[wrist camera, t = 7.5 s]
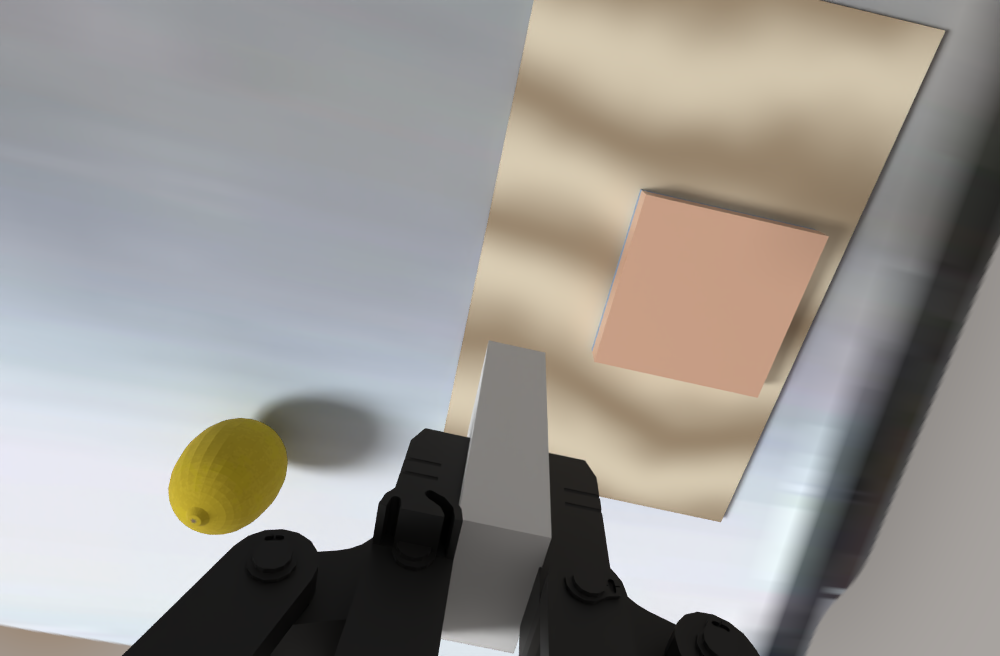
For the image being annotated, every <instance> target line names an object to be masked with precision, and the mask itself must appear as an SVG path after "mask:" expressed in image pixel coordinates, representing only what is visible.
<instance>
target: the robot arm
mask: <svg viewBox="0 0 1000 656" xmlns="http://www.w3.org/2000/svg"><path fill="white" fill-rule="evenodd" d="M519 636H520V637H519ZM441 639H443V640H448V641H453V642H458V643H463V644H468V645H473V646H479V647H484V648H489V649H494V650H499V651H504V652H509V653H514V651H515V648H516V645H517V642H518V639H519V656H760V655H759V654H758V652H757V651H756V649H755V648H754V646H753V645H752V644H751V643H750V641H749V640H748V639H747V637H746V636H745V635H744V634H743V633H742V632H741V631H739V630H738V629H737V628H736V627H734V626H733V625H732V624H731V623H729V622H728V621H725V620H723V619H721V618H719V617H717V616H715V615H713V614H707V613H701V612H695V613H690V614H686V615H684V616H683V617H682V618H681V619H680V620H679V621H678V622H677V624H676V625H675V624H673V623H671V622H669V621H667V620H665V619H663V618H661V617H659V616H657V615H655V614H653V613H651V612H649V611H647V610H645V609H644V608H642V607H640V606H639V605H637V604H636V603H635V602H633V601H632V600H631V599H630V598H629V597H627V593H626V591H625V588H624V586H623V583H622V581H621V580H620V579H619V578H618V576H617V575H616V574H615V573H614V572H613V570H612V569H610V564H609V557H608V550H607V544H606V537H605V530H604V523H603V517H602V513H601V503H600V498H599V490H598V483H597V477H596V476H595V474H594V473H593V471H592V470H591V468H590V467H589V465H588V464H587V462H586V461H585V460H581V459H576V458H572V457H567V456H562V455H557V454H553V453H549V448H548V418H547V388H546V359H545V352H540V351H535V350H531V349H526V348H522V347H517V346H512V345H508V344H503V343H498V342H494V341H488V346H487V350H486V354H485V359H484V363H483V368H482V372H481V376H480V381H479V385H478V390H477V394H476V398H475V403H474V407H473V411H472V416H471V420H470V425H469V429H468V435H467V437H464V436H460V435H455V434H450V433H445V432H441V431H436V430H431V429H426V428H425V429H424V430H422V431H421V432H420V433H419V434H418V435H417V436H415V437H414V438H413V439H412V440H411V442H410V445H409V448H408V451H407V454H406V457H405V460H404V463H403V466H402V469H401V473H400V475H399V478H398V481H397V484H396V487H395V488H394V489H392V490H391V491H389V492H387V493H386V494H385V495H384V497H383V498H382V500H381V501H380V502H379V505H378V511H377V517H376V523H375V529H374V536H373V538H372V539H370V540H368V541H367V542H365V543H364V544H362V545H359V546H356V547H353V548H350V549H344V550H338V551H323V552H317V550H316V549H315V547H314V545H313V544H312V542H311V541H310V540H309V539H307V538H305V537H304V536H302V535H301V534H299V533H296V532H292V531H288V530H284V529H279V530H264V531H261V532H258V533H255V534H252V535H249V536H247V537H246V538H244V539H243V540H242V541H240V542H239V543H237V544H236V545H234V546H233V547H232V548H231V549H230V550H229V551H228V552H227V553H226V554H225V555H224V556H223V557H222V558H221V559H220V560H219V561H218V562H217V563H216V564H215V565H214V566H213V567H212V568H211V569H210V570H209V571H208V572H207V573H206V574H205V575H204V576H203V577H202V578H201V579H200V580H199V581H198V582H197V583H196V584H195V585H194V586H193V587H192V588H191V589H189V590H188V591H187V592H186V593H185V594H184V595H183V596H182V597H181V598H180V599H179V600H178V601H177V602H176V603H175V604H174V605H173V606H172V607H171V608H170V609H169V610H168V611H167V612H166V613H165V614H164V615H163V616H162V617H161V618H160V619H159V620H158V621H157V622H156V623H155V624H154V625H153V626H152V627H151V628H150V629H149V630H148V631H147V632H146V633H145V634H144V635H143V636H142V637H141V638H140V639H139V640H138V641H137V642H136V643H134V644H133V645H132V646H131V648H129V649H128V651H126V652H125V653H124V654H123V655H122V656H438V653H439V646H440V640H441Z"/></svg>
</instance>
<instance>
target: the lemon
mask: <svg viewBox="0 0 1000 656" xmlns="http://www.w3.org/2000/svg"><path fill="white" fill-rule="evenodd" d="M287 464H288V460H287V454H286V449H285V446H284V444H283V442H282V440H281V438H280V437H279V436H278V434H277V433H276V432H275V431H274V430H273V429H271V428H270V427H269V426H267V425H266V424H264V423H262V422H259V421H256V420H253V419H245V418H237V419H229V420H225V421H222V422H220V423H217V424H215V425H213V426H211V427H209V428H207V429H206V430H204V431H203V432H202V433H201V434H199V435H198V436H197V437H196V438H195V439H194V440H192V441H191V442H190V443H189V445H188V446H187V447H186V448H185V450H184V451H183V453H182V455H181V456H180V458H179V459H178V461H177V463H176V465H175V467H174V469H173V471H172V474H171V478H170V483H169V488H168V490H169V501H170V504H171V506H172V509H173V511H174V513H175V514H176V516H177V517H178V519H179V520H180V521H181V522H182V523H183V524H185V525H186V526H187V527H189V528H191V529H192V530H195V531H197V532H200V533H204V534H210V535H220V534H227V533H231V532H234V531H237V530H239V529H241V528H243V527H245V526H247V525H248V524H250V523H251V522H253V521H254V520H255V519H257V518H258V517H259V516H260V515H261V514H262V513H263V512H264V511H265V510H266V509H267V508H268V507H269V506H270V505H271V504H272V502H273V501H274V500H275V498H276V496H277V495H278V493H279V491H280V489H281V487H282V485H283V483H284V480H285V477H286V471H287Z"/></svg>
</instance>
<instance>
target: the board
mask: <svg viewBox="0 0 1000 656" xmlns="http://www.w3.org/2000/svg"><path fill="white" fill-rule="evenodd" d="M944 33H945V30H941V29H936V28H932V27H928V26H924V25H920V24H916V23H912V22H907V21H903V20H899V19H895V18H891V17H887V16H883V15H878V14H874V13H870V12H866V11H862V10H858V9H854V8H849V7H845V6H841V5H837V4H833V3H829V2H825V1H820V0H534V2H533V7H532V12H531V17H530V22H529V26H528V31H527V36H526V41H525V46H524V50H523V55H522V60H521V65H520V70H519V74H518V79H517V84H516V89H515V93H514V98H513V103H512V108H511V113H510V117H509V122H508V127H507V132H506V137H505V141H504V146H503V151H502V156H501V161H500V165H499V170H498V175H497V180H496V184H495V189H494V194H493V199H492V204H491V208H490V213H489V218H488V223H487V228H486V232H485V237H484V242H483V247H482V252H481V256H480V261H479V266H478V271H477V275H476V280H475V285H474V290H473V295H472V299H471V304H470V309H469V314H468V319H467V323H466V328H465V333H464V338H463V343H462V347H461V352H460V357H459V362H458V366H457V371H456V376H455V381H454V386H453V390H452V395H451V400H450V405H449V410H448V414H447V419H446V424H445V429H444V432H445V433H450V434H455V435H460V436H464V437H467V435H468V429H469V425H470V420H471V416H472V411H473V407H474V403H475V398H476V394H477V390H478V385H479V381H480V376H481V372H482V368H483V363H484V359H485V354H486V350H487V346H488V341H494V342H498V343H503V344H508V345H512V346H517V347H522V348H526V349H531V350H535V351H540V352H545V359H546V388H547V418H548V448H549V453H553V454H557V455H562V456H567V457H572V458H576V459H581V460H585V461H586V462H587V464H588V465H589V467H590V468H591V470H592V471H593V473H594V474H595V476H596V477H597V483H598V490H599V496H600V497H605V498H610V499H614V500H619V501H624V502H629V503H633V504H638V505H643V506H647V507H652V508H657V509H661V510H666V511H671V512H675V513H680V514H685V515H690V516H694V517H699V518H704V519H708V520H713V521H718V522H721V521H722V518H723V516H724V514H725V512H726V510H727V507H728V505H729V503H730V501H731V499H732V497H733V494H734V492H735V490H736V488H737V486H738V483H739V481H740V479H741V477H742V475H743V472H744V470H745V468H746V466H747V464H748V462H749V459H750V457H751V455H752V453H753V451H754V448H755V446H756V444H757V442H758V440H759V437H760V435H761V433H762V431H763V429H764V427H765V424H766V422H767V420H768V418H769V416H770V413H771V411H772V409H773V407H774V405H775V402H776V400H777V398H778V396H779V394H780V392H781V389H782V387H783V385H784V383H785V381H786V378H787V376H788V374H789V372H790V370H791V367H792V365H793V363H794V361H795V359H796V357H797V354H798V352H799V350H800V348H801V346H802V343H803V341H804V339H805V337H806V335H807V332H808V330H809V328H810V326H811V324H812V322H813V319H814V317H815V315H816V313H817V311H818V308H819V306H820V304H821V302H822V300H823V297H824V295H825V293H826V291H827V289H828V287H829V284H830V282H831V280H832V278H833V276H834V273H835V271H836V269H837V267H838V265H839V262H840V260H841V258H842V256H843V254H844V252H845V249H846V247H847V245H848V243H849V241H850V238H851V236H852V234H853V232H854V230H855V227H856V225H857V223H858V221H859V219H860V217H861V214H862V212H863V210H864V208H865V206H866V203H867V201H868V199H869V197H870V195H871V192H872V190H873V188H874V186H875V184H876V182H877V179H878V177H879V175H880V173H881V171H882V168H883V166H884V164H885V162H886V160H887V157H888V155H889V153H890V151H891V149H892V147H893V144H894V142H895V140H896V138H897V136H898V133H899V131H900V129H901V127H902V125H903V122H904V120H905V118H906V116H907V114H908V111H909V109H910V107H911V105H912V103H913V101H914V98H915V96H916V94H917V92H918V90H919V87H920V85H921V83H922V81H923V79H924V76H925V74H926V72H927V70H928V68H929V66H930V63H931V61H932V59H933V57H934V55H935V52H936V50H937V48H938V46H939V44H940V41H941V39H942V37H943V35H944ZM640 189H643V190H647V191H651V192H656V193H660V194H665V195H669V196H673V197H678V198H682V199H686V200H691V201H695V202H699V203H704V204H708V205H712V206H717V207H721V208H725V209H730V210H734V211H739V212H743V213H747V214H752V215H756V216H760V217H765V218H769V219H773V220H778V221H782V222H786V223H791V224H795V225H800V226H804V227H808V228H813V229H816V230H817V231H819V232H821V233H823V234H825V235H827V236H829V238H828V240H827V242H826V244H825V247H824V249H823V251H822V253H821V256H820V258H819V260H818V262H817V265H816V267H815V269H814V271H813V274H812V276H811V278H810V281H809V283H808V285H807V287H806V290H805V292H804V294H803V296H802V299H801V301H800V303H799V305H798V308H797V310H796V312H795V314H794V317H793V319H792V321H791V324H790V326H789V328H788V330H787V333H786V335H785V337H784V339H783V342H782V344H781V346H780V348H779V351H778V353H777V355H776V357H775V360H774V362H773V364H772V367H771V369H770V371H769V373H768V376H767V378H766V380H765V382H764V385H763V387H762V389H761V391H760V394H759V396H758V398H756V397H752V396H747V395H742V394H738V393H733V392H729V391H724V390H720V389H715V388H711V387H706V386H702V385H697V384H692V383H688V382H683V381H679V380H674V379H670V378H665V377H661V376H656V375H652V374H647V373H642V372H638V371H633V370H629V369H624V368H620V367H615V366H611V365H606V364H602V363H597V362H594V359H593V354H592V346H593V343H594V340H595V336H596V333H597V330H598V327H599V323H600V320H601V317H602V313H603V310H604V307H605V304H606V300H607V297H608V294H609V290H610V287H611V284H612V281H613V277H614V274H615V271H616V267H617V264H618V261H619V258H620V254H621V251H622V248H623V244H624V241H625V238H626V235H627V231H628V228H629V225H630V221H631V218H632V215H633V212H634V208H635V205H636V202H637V198H638V195H639V192H640Z"/></svg>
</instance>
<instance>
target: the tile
mask: <svg viewBox="0 0 1000 656" xmlns="http://www.w3.org/2000/svg"><path fill="white" fill-rule="evenodd" d="M828 238H829V236H827V235H825V234H823V233H821V232H819V231H817V230H816V229H813V228H808V227H804V226H800V225H795V224H791V223H786V222H782V221H778V220H773V219H769V218H765V217H760V216H756V215H752V214H747V213H743V212H739V211H734V210H730V209H725V208H721V207H717V206H712V205H708V204H704V203H699V202H695V201H691V200H686V199H682V198H678V197H673V196H669V195H665V194H660V193H656V192H651V191H647V190H643V189H640V192H639V195H638V198H637V202H636V205H635V208H634V212H633V215H632V218H631V221H630V225H629V228H628V231H627V235H626V238H625V241H624V244H623V248H622V251H621V254H620V258H619V261H618V264H617V267H616V271H615V274H614V277H613V281H612V284H611V287H610V290H609V294H608V297H607V300H606V304H605V307H604V310H603V313H602V317H601V320H600V323H599V327H598V330H597V333H596V336H595V340H594V343H593V346H592V354H593V359H594V362H597V363H602V364H606V365H611V366H615V367H620V368H624V369H629V370H633V371H638V372H642V373H647V374H652V375H656V376H661V377H665V378H670V379H674V380H679V381H683V382H688V383H692V384H697V385H702V386H706V387H711V388H715V389H720V390H724V391H729V392H733V393H738V394H742V395H747V396H752V397H756V398H758V396H759V394H760V391H761V389H762V387H763V385H764V382H765V380H766V378H767V376H768V373H769V371H770V369H771V367H772V364H773V362H774V360H775V357H776V355H777V353H778V351H779V348H780V346H781V344H782V342H783V339H784V337H785V335H786V333H787V330H788V328H789V326H790V324H791V321H792V319H793V317H794V314H795V312H796V310H797V308H798V305H799V303H800V301H801V299H802V296H803V294H804V292H805V290H806V287H807V285H808V283H809V281H810V278H811V276H812V274H813V271H814V269H815V267H816V265H817V262H818V260H819V258H820V256H821V253H822V251H823V249H824V247H825V244H826V242H827V240H828Z"/></svg>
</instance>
